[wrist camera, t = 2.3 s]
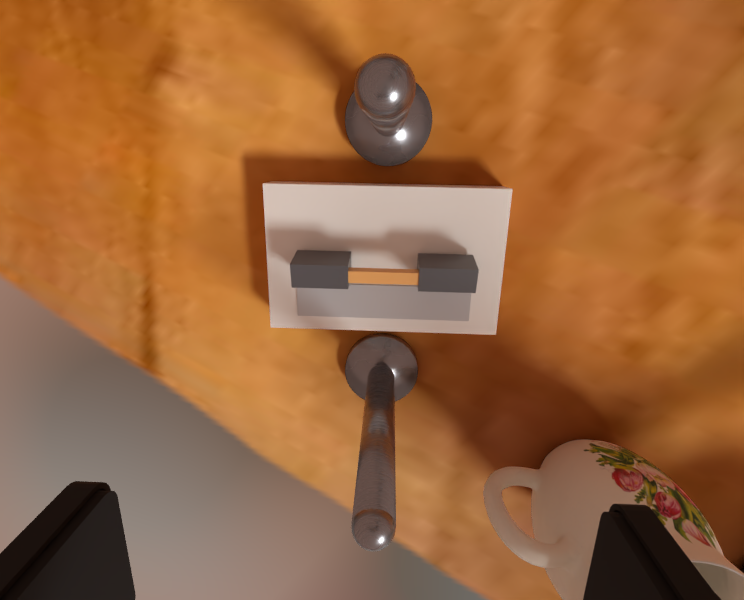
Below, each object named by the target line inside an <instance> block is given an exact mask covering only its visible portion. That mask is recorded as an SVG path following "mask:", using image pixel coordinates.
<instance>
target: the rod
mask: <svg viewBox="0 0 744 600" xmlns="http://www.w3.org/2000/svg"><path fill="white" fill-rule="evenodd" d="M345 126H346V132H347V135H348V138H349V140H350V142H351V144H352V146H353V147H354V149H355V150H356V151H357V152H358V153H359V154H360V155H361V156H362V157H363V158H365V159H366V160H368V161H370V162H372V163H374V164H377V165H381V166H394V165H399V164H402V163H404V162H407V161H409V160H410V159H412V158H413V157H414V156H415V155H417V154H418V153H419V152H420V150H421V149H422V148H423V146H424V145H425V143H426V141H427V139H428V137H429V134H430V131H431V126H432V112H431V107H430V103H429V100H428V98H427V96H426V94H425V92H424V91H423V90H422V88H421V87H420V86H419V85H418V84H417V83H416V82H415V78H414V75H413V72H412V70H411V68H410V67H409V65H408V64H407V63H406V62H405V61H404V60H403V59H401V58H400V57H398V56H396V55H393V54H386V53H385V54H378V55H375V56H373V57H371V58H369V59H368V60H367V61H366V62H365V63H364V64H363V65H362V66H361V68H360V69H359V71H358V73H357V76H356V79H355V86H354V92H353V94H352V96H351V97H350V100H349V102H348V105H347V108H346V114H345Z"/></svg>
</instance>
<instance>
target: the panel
mask: <svg viewBox="0 0 744 600" xmlns="http://www.w3.org/2000/svg"><path fill="white" fill-rule="evenodd" d="M511 198H512V189H511V188H507V187H504V186H469V185H423V184H378V183H332V182H286V181H271V182H267V183H263V199H264V217H265V235H266V252H267V270H268V288H269V305H270V323H271V327H275V328H305V329H335V330H365V331H395V332H425V333H455V334H485V335H496V329H497V320H498V312H499V303H500V294H501V285H502V276H503V268H504V259H505V250H506V241H507V233H508V224H509V215H510V206H511ZM297 250H318V251H351V267H353V268H388V269H417V258H418V253H428V254H465V255H473V256H474V259H475V261H476V264H477V266H478V269H479V273H478V280H477V287H476V293H454V292H421V291H418V286H417V285H402V284H368V283H349V288H348V289H322V288H292V286H291V274H290V263H291V261H292V259H293V257H294V255H295V253H296V251H297Z"/></svg>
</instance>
